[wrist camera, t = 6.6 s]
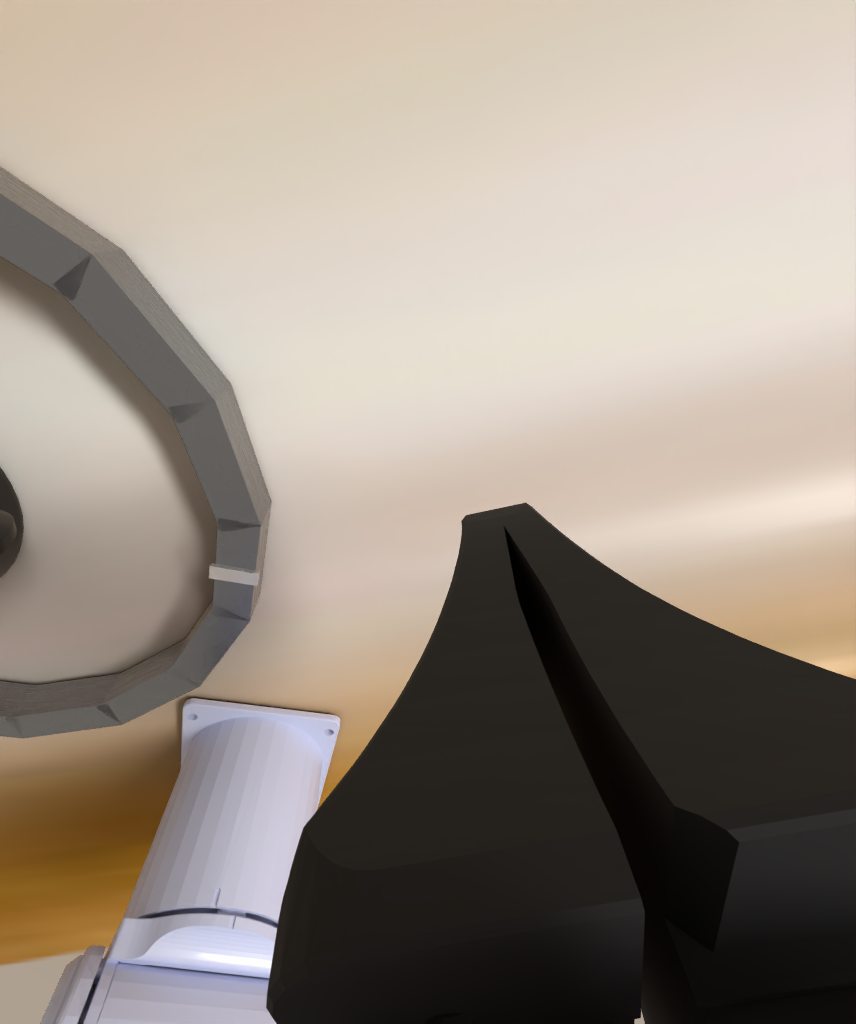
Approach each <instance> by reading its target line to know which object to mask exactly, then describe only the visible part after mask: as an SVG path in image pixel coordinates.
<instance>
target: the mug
mask: <svg viewBox="0 0 856 1024" xmlns="http://www.w3.org/2000/svg"><path fill="white" fill-rule="evenodd" d="M22 536H23V515H22V511H21V508H20V504H19V501H18V498H17V496H16V493H15V491H14V489H13V487H12V485H11V483H10V481H9V480H8V478H7V477H6V475H5V473H4V472H3V470H2V469H1V468H0V577H2V576H3V575H4V574H5V573H6V572H7V571H8V569H9V568H10V567H11V566H12V564H13V563H14V561H15V559H16V557H17V555H18V553H19V550H20V547H21V542H22Z"/></svg>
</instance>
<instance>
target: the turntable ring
mask: <svg viewBox="0 0 856 1024" xmlns="http://www.w3.org/2000/svg"><path fill="white" fill-rule="evenodd" d="M0 256H1V257H3V258H4V259H6V260H7V261H9V262H11V263H12V264H14V265H16V266H17V267H19V268H20V269H22V270H24V271H25V272H27V273H28V274H30V275H32V276H33V277H35V278H36V279H38V280H40V281H41V282H43V283H44V284H46V285H48V286H49V287H51V288H53V289H54V290H56V291H57V292H59V293H61V294H62V295H63V296H64V297H65V298H66V299H67V300H68V301H69V303H70V304H71V305H72V306H73V307H74V308H75V309H76V310H77V311H78V313H79V314H80V315H81V316H82V317H83V318H84V319H85V320H86V321H87V322H88V324H89V325H90V326H91V327H92V328H93V329H94V330H95V331H96V332H97V334H98V335H99V336H100V337H101V338H102V339H103V340H104V341H105V342H106V343H107V345H108V346H109V347H110V348H111V349H112V350H113V351H114V352H115V353H116V355H117V356H118V357H119V358H120V359H121V360H122V361H123V362H124V363H125V364H126V366H127V367H128V368H129V369H130V370H131V371H132V372H133V373H134V374H135V376H136V377H137V378H138V379H139V380H140V381H141V382H142V383H143V384H144V385H145V387H146V388H147V389H148V390H149V391H150V392H151V393H152V394H153V395H154V397H155V398H156V399H157V400H158V401H159V402H160V403H161V404H162V405H163V406H164V408H165V409H166V410H167V411H168V412H169V413H170V414H171V415H172V417H173V419H174V421H175V424H176V426H177V428H178V431H179V433H180V436H181V438H182V440H183V443H184V445H185V448H186V450H187V452H188V455H189V457H190V460H191V462H192V464H193V467H194V469H195V472H196V474H197V476H198V479H199V481H200V483H201V486H202V488H203V491H204V493H205V495H206V498H207V500H208V503H209V505H210V507H211V510H212V512H213V515H214V517H215V519H216V522H217V524H218V530H217V545H216V561H215V563H211V564H210V567H209V578H210V579H214V592H213V600H212V602H211V603H210V604H209V606H208V607H207V609H206V610H205V611H204V613H203V614H202V616H201V617H200V619H199V620H198V621H197V623H196V624H195V626H194V627H193V629H192V630H191V631H190V633H189V634H188V636H187V637H186V639H185V640H183V641H181V642H179V643H177V644H175V645H173V646H171V647H169V648H168V649H166V650H164V651H162V652H160V653H158V654H156V655H154V656H152V657H150V658H148V659H147V660H145V661H143V662H141V663H139V664H137V665H135V666H133V667H131V668H129V669H128V670H126V671H124V672H122V673H120V674H114V675H106V676H99V677H92V678H85V679H77V680H70V681H63V682H56V683H48V684H41V685H30V684H21V683H13V682H4V681H0V736H6V737H16V738H29V737H36V736H43V735H51V734H58V733H65V732H73V731H80V730H87V729H95V728H102V727H109V726H117V725H123V724H125V723H127V722H129V721H131V720H133V719H135V718H137V717H139V716H141V715H143V714H145V713H147V712H149V711H151V710H153V709H155V708H157V707H159V706H161V705H163V704H165V703H167V702H169V701H171V700H173V699H175V698H177V697H179V696H181V695H183V694H185V693H187V692H189V691H191V690H193V689H195V688H197V687H199V686H200V685H201V684H202V683H203V681H204V680H205V679H206V677H207V676H208V675H209V674H210V672H211V671H212V670H213V668H214V667H215V666H216V664H217V663H218V662H219V660H220V659H221V658H222V657H223V655H224V654H225V653H226V651H227V650H228V649H229V647H230V646H231V645H232V644H233V642H234V641H235V640H236V638H237V637H238V636H239V634H240V633H241V632H242V631H243V629H244V628H245V627H246V625H247V624H248V623H249V621H250V619H251V616H252V614H253V611H254V608H255V605H256V603H257V600H258V597H259V594H260V589H261V580H262V572H263V564H264V556H265V548H266V540H267V532H268V524H269V516H270V508H271V499H270V496H269V493H268V490H267V487H266V485H265V482H264V479H263V476H262V473H261V470H260V467H259V464H258V461H257V458H256V455H255V452H254V449H253V447H252V444H251V441H250V438H249V435H248V432H247V429H246V426H245V423H244V420H243V417H242V414H241V411H240V408H239V406H238V403H237V400H236V397H235V394H234V391H233V388H232V385H231V383H230V382H229V381H228V380H227V378H226V377H225V376H224V375H223V373H222V372H221V371H220V370H219V368H218V367H217V366H216V365H215V363H214V362H213V361H212V360H211V358H210V357H209V356H208V355H207V354H206V352H205V351H204V350H203V349H202V347H201V346H200V345H199V344H198V342H197V341H196V340H195V339H194V337H193V336H192V335H191V334H190V332H189V331H188V330H187V329H186V327H185V326H184V325H183V324H182V323H181V321H180V320H179V319H178V318H177V316H176V315H175V314H174V313H173V311H172V310H171V309H170V308H169V306H168V305H167V304H166V303H165V301H164V300H163V299H162V298H161V296H160V295H159V294H158V293H157V292H156V290H155V289H154V288H153V287H152V285H151V284H150V283H149V282H148V280H147V279H146V278H145V277H144V275H143V274H142V273H141V272H140V270H139V269H138V268H137V267H136V265H135V264H134V263H133V262H132V261H131V259H130V258H129V257H128V256H127V254H126V253H125V252H124V250H122V249H121V248H119V247H118V246H116V245H115V244H113V243H112V242H110V241H109V240H107V239H106V238H105V237H103V236H102V235H100V234H99V233H97V232H96V231H94V230H93V229H91V228H90V227H88V226H87V225H85V224H84V223H82V222H81V221H80V220H78V219H77V218H75V217H74V216H72V215H71V214H69V213H68V212H66V211H65V210H63V209H62V208H60V207H59V206H57V205H56V204H55V203H53V202H52V201H50V200H49V199H47V198H46V197H44V196H43V195H41V194H40V193H38V192H37V191H35V190H34V189H32V188H31V187H29V186H28V185H27V184H25V183H24V182H22V181H21V180H19V179H18V178H16V177H15V176H13V175H12V174H10V173H9V172H7V171H6V170H4V169H3V168H2V167H0Z"/></svg>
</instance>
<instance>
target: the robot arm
mask: <svg viewBox="0 0 856 1024" xmlns="http://www.w3.org/2000/svg"><path fill="white" fill-rule="evenodd" d="M339 728H340V719H339V717H337V716H335V715H330V714H322V713H314V712H305V711H297V710H289V709H280V708H272V707H264V706H255V705H247V704H239V703H230V702H222V701H214V700H205V699H197V698H191V699H188V700H187V701H185V704H184V706H183V710H182V744H181V770H180V773H179V775H178V778H177V780H176V783H175V785H174V788H173V791H172V793H171V796H170V798H169V801H168V804H167V806H166V809H165V811H164V814H163V816H162V819H161V822H160V824H159V827H158V829H157V832H156V835H155V837H154V840H153V842H152V845H151V847H150V850H149V853H148V855H147V858H146V860H145V863H144V865H143V868H142V871H141V873H140V876H139V878H138V881H137V884H136V886H135V889H134V891H133V894H132V896H131V899H130V902H129V904H128V907H127V909H126V912H125V915H124V917H123V919H122V921H121V923H120V925H119V927H118V930H117V932H116V934H115V936H114V938H113V940H112V942H111V944H110V946H109V948H108V951H107V953H106V955H105V957H104V959H103V958H102V956H103V954H104V950H105V947H104V946H96V945H92V946H90V947H88V948H87V949H86V951H85V953H84V955H80V956H78V957H77V958H76V959H74V960H73V961H72V962H70V963H69V964H68V965H67V966H66V968H65V970H64V972H63V974H62V976H61V978H60V981H59V983H58V985H57V987H56V989H55V992H54V994H53V996H52V998H51V1001H50V1003H49V1005H48V1007H47V1010H46V1012H45V1014H44V1016H43V1019H42V1021H41V1023H40V1024H634V1019H637V1018H640V1017H641V1010H642V1013H643V1017H644V1021H645V1024H856V679H853V678H850V677H847V676H843V675H841V674H838V673H835V672H832V671H829V670H826V669H823V668H821V667H818V666H815V665H812V664H810V663H807V662H804V661H801V660H799V659H796V658H793V657H790V656H788V655H785V654H782V653H779V652H777V651H774V650H772V649H769V648H767V647H764V646H762V645H759V644H757V643H754V642H752V641H749V640H747V639H744V638H742V637H739V636H737V635H735V634H733V633H730V632H728V631H726V630H724V629H721V628H719V627H717V626H715V625H712V624H710V623H708V622H706V621H703V620H701V619H699V618H697V617H695V616H693V615H691V614H689V613H687V612H685V611H683V610H680V609H678V608H677V607H675V606H673V605H671V604H669V603H667V602H665V601H663V600H662V599H660V598H658V597H656V596H654V595H652V594H650V593H649V592H647V591H645V590H643V589H641V588H640V587H638V586H636V585H635V584H633V583H632V582H630V581H628V580H627V579H625V578H624V577H622V576H621V575H619V574H618V573H616V572H614V571H613V570H611V569H610V568H608V567H607V566H605V565H604V564H603V563H601V562H600V561H598V560H597V559H595V558H594V557H593V556H591V555H590V554H589V553H587V552H586V551H585V550H583V549H582V548H581V547H579V546H578V545H577V544H575V543H574V542H573V541H571V540H570V539H569V538H568V537H566V536H565V535H564V534H563V533H561V532H560V531H559V530H558V529H556V528H555V527H554V526H553V525H552V524H551V523H549V522H548V521H547V520H546V519H545V518H544V517H543V516H541V515H540V514H539V513H538V512H537V511H536V510H535V509H534V508H533V507H531V506H530V505H528V504H527V503H522V504H518V505H513V506H508V507H503V508H499V509H494V510H489V511H484V512H480V513H475V514H470V515H466V516H465V517H464V519H463V520H462V537H461V544H460V549H459V555H458V559H457V563H456V567H455V571H454V575H453V579H452V582H451V585H450V588H449V591H448V594H447V597H446V600H445V603H444V605H443V608H442V611H441V614H440V616H439V619H438V621H437V624H436V626H435V629H434V631H433V633H432V635H431V638H430V640H429V642H428V644H427V646H426V648H425V650H424V652H423V654H422V656H421V658H420V660H419V662H418V664H417V666H416V668H415V670H414V671H413V673H412V675H411V677H410V679H409V681H408V682H407V684H406V686H405V688H404V689H403V691H402V693H401V695H400V696H399V698H398V700H397V701H396V703H395V704H394V706H393V708H392V709H391V711H390V712H389V714H388V715H387V717H386V718H385V720H384V721H383V723H382V724H381V725H380V727H379V728H378V730H377V731H376V733H375V734H374V736H373V737H372V739H371V740H370V742H369V743H368V745H367V746H366V748H365V749H364V751H363V752H362V753H361V755H360V756H359V758H358V759H357V760H356V762H355V763H354V764H353V766H352V767H351V768H350V770H349V771H348V772H347V773H346V775H345V776H344V777H343V778H342V780H341V781H340V782H339V783H338V785H337V786H336V787H335V788H334V790H333V791H332V792H331V793H330V795H329V796H328V797H327V799H326V800H325V801H324V802H323V804H322V805H321V806H320V807H319V809H318V810H317V808H318V804H319V801H320V797H321V793H322V790H323V786H324V782H325V779H326V775H327V772H328V768H329V764H330V761H331V757H332V753H333V750H334V746H335V742H336V739H337V735H338V732H339Z"/></svg>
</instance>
